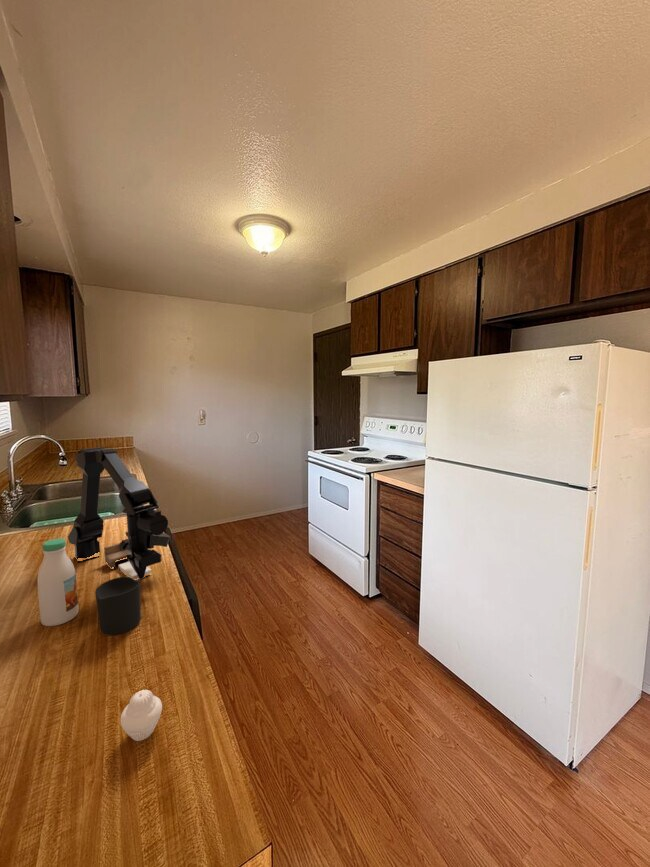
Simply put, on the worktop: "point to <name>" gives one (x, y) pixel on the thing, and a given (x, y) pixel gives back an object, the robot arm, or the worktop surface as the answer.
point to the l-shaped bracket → (114, 554)
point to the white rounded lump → (141, 715)
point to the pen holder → (118, 605)
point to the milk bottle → (57, 585)
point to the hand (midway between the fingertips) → (141, 578)
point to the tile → (132, 570)
